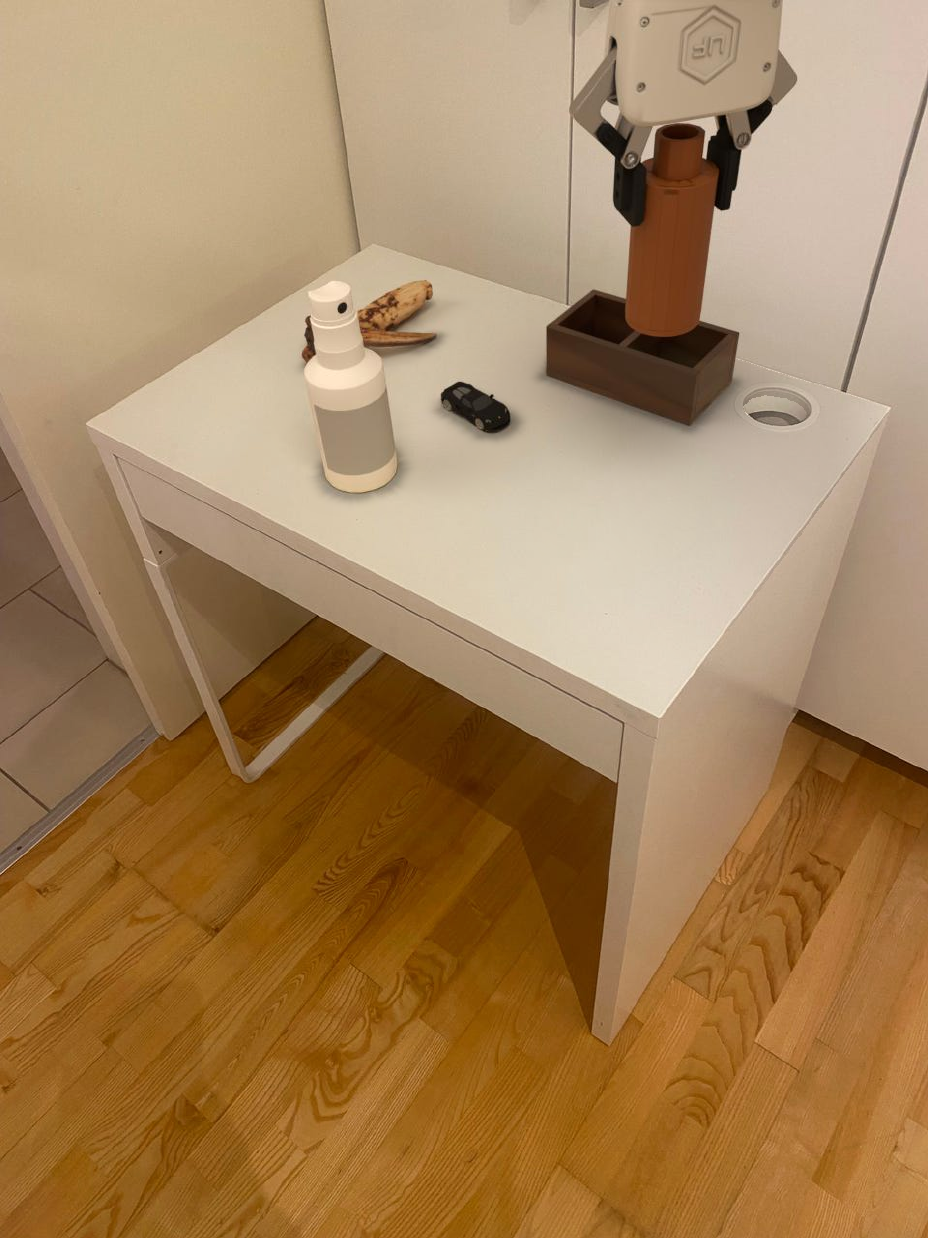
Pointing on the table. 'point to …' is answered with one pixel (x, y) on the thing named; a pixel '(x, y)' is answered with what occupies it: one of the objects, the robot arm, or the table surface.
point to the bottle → (672, 235)
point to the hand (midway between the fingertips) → (673, 207)
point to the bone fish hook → (385, 319)
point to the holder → (639, 359)
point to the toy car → (476, 406)
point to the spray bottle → (348, 396)
